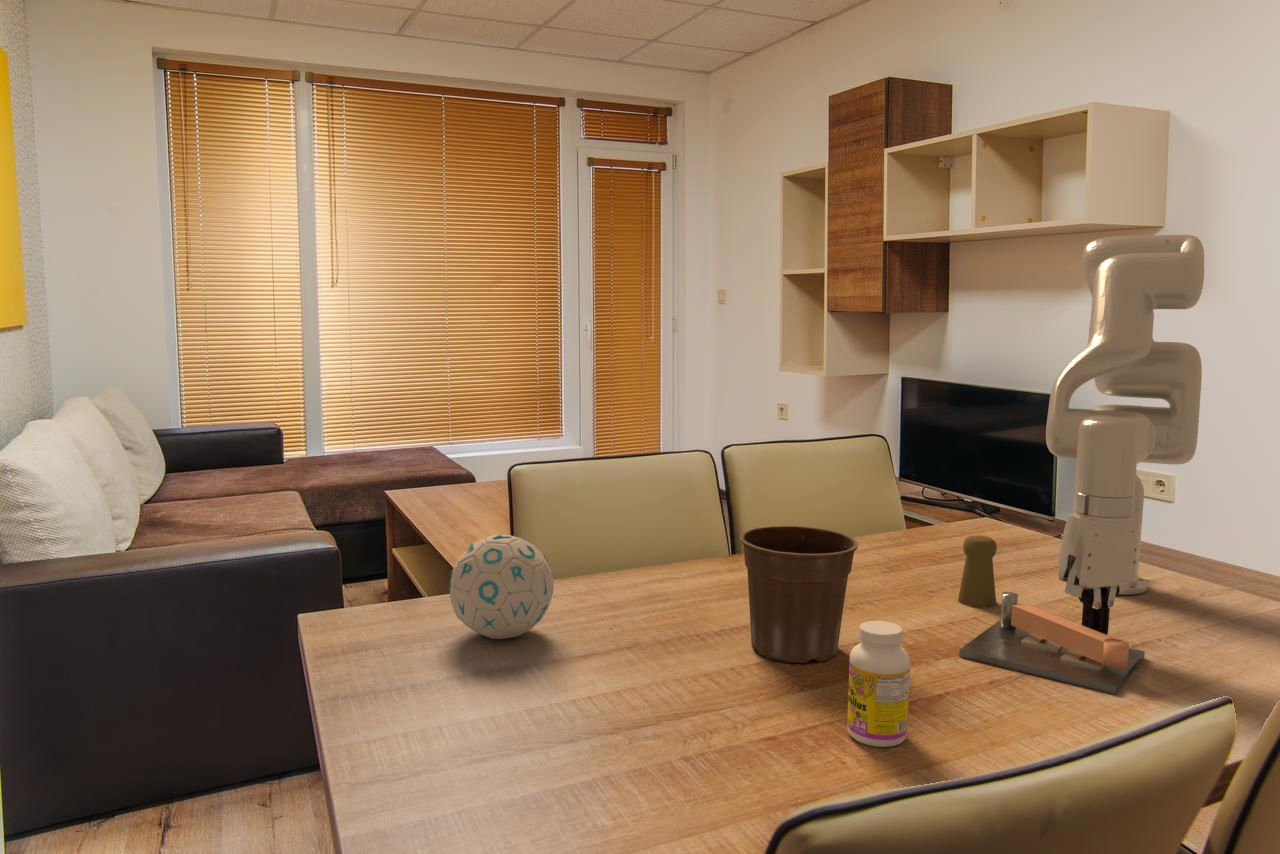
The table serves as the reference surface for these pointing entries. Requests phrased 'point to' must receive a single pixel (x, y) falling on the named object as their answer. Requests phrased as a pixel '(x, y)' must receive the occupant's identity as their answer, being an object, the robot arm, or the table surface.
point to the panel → (1043, 655)
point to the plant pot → (797, 590)
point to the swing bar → (1071, 636)
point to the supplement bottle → (878, 686)
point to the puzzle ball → (501, 586)
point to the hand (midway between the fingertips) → (1094, 632)
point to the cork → (978, 572)
